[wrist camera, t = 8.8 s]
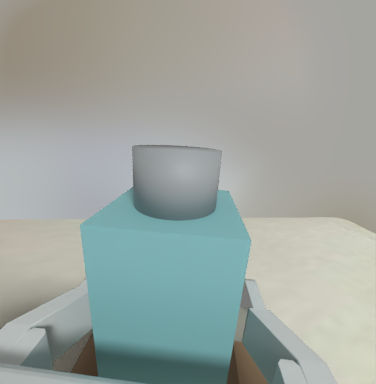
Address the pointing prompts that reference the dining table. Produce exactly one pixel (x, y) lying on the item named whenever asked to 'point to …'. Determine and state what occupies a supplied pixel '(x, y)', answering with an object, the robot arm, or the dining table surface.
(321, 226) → the dining table surface
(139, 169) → the teal bottle
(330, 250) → the dining table surface
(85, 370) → the jig
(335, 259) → the dining table surface
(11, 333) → the robot arm
